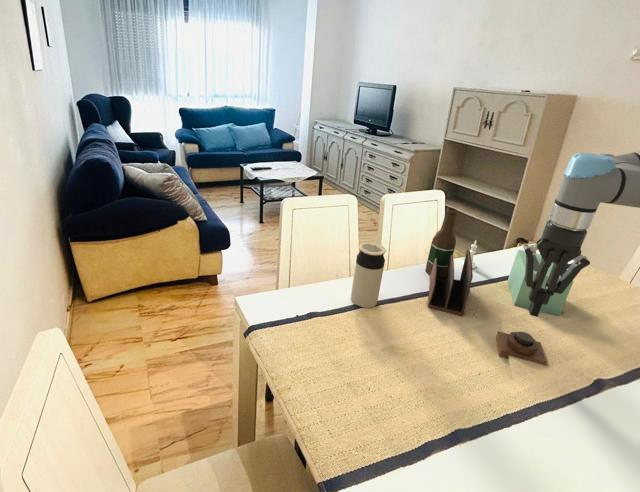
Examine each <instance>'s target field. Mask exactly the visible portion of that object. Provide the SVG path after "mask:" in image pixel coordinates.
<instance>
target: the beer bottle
mask: <svg viewBox="0 0 640 492" xmlns="http://www.w3.org/2000/svg"><path fill="white" fill-rule="evenodd" d="M444 214H445V215H444V217H443V221H442V224H441V227H440V229H439V230H438V231H437V232H436V233H435V235H434V236H433V237H432V240H431V244H430V247H429V253H428V257H427V260H426V265H425V273H426V274H428V276H430V275H431V271H432V268H433V264H434V261H435V258H437V276H441V277H445V276H446V272H447V268H448V264H449V260H450V256H451V254H452V255H453V256H454V252H455V248H456V244H457V237H456V235H455V232H454V227H455V221H456V216H457V215H458V209H456V208H455V207H446V209H445V213H444Z"/></svg>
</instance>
